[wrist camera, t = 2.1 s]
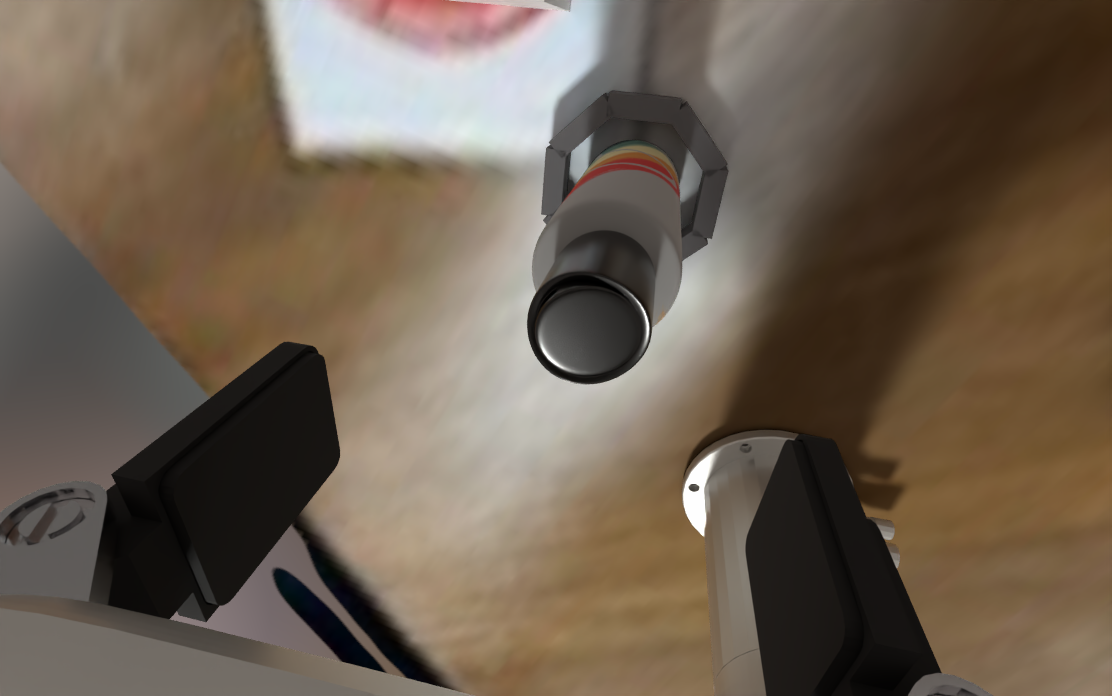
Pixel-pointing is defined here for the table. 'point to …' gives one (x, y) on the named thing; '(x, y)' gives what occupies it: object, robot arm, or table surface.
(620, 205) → the lotion bottle
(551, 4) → the bin
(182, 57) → the table surface
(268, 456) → the robot arm
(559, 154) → the collar
